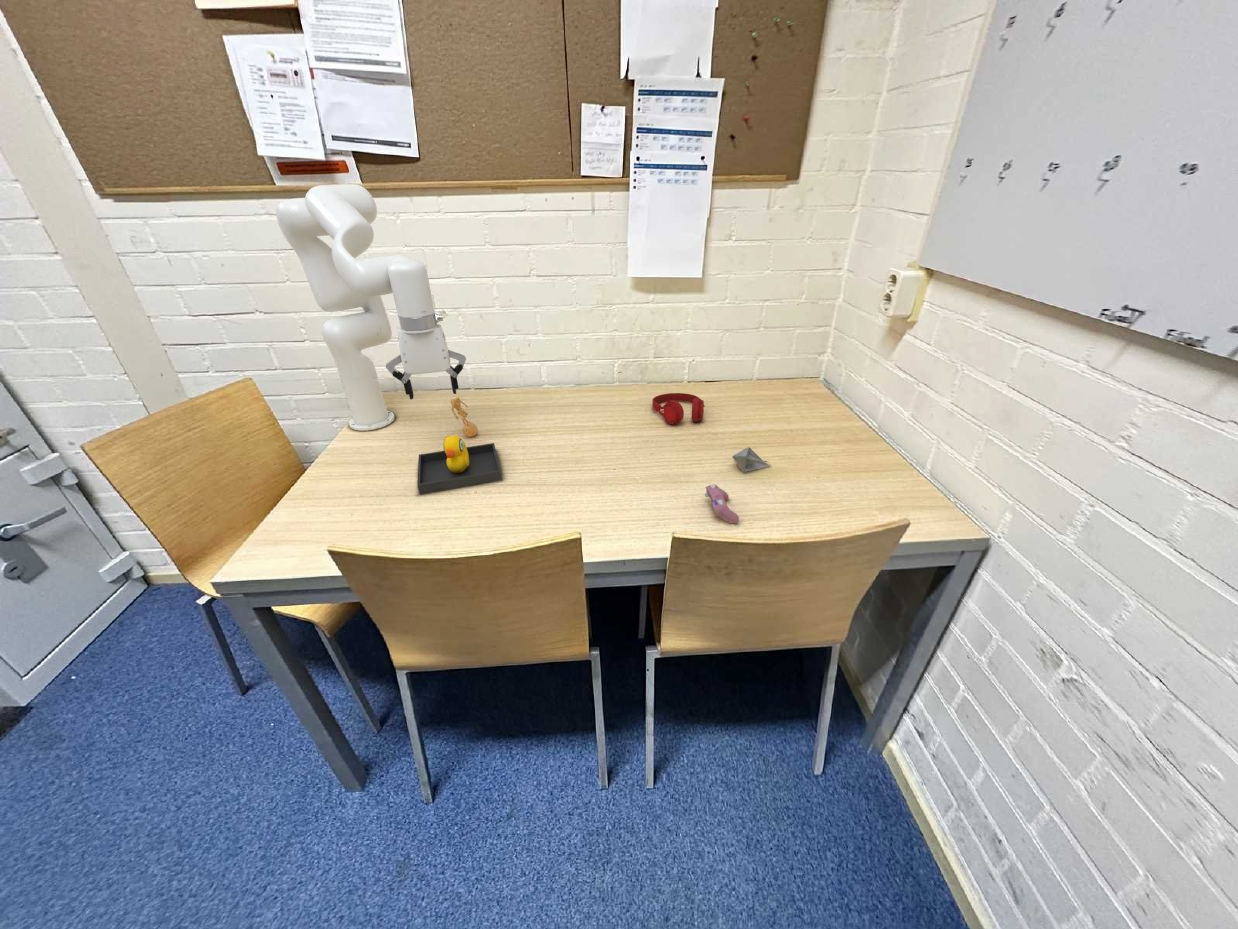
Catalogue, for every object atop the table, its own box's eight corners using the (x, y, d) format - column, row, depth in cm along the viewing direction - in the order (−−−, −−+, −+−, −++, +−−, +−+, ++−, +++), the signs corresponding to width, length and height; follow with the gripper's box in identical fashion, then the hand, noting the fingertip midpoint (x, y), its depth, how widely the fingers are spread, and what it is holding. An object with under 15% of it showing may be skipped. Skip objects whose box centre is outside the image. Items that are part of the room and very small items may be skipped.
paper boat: (749, 450, 130) (782, 453, 124) (745, 474, 130) (777, 478, 123) (725, 441, 121) (760, 443, 115) (721, 467, 121) (755, 471, 115)
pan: (420, 463, 129) (418, 454, 127) (495, 451, 134) (494, 442, 132) (419, 494, 116) (417, 485, 115) (502, 480, 121) (500, 471, 120)
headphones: (712, 423, 145) (690, 405, 163) (713, 400, 142) (690, 384, 161) (664, 428, 143) (647, 409, 161) (664, 405, 140) (646, 388, 158)
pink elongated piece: (710, 504, 114) (699, 482, 111) (728, 496, 113) (718, 474, 110) (721, 531, 106) (709, 509, 102) (741, 522, 105) (730, 499, 101)
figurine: (473, 442, 138) (466, 403, 132) (452, 442, 138) (444, 403, 132) (482, 429, 145) (475, 391, 139) (462, 429, 145) (454, 391, 139)
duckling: (466, 482, 120) (458, 446, 115) (443, 483, 119) (435, 447, 114) (474, 458, 129) (467, 424, 124) (453, 459, 129) (446, 425, 124)
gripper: (458, 314, 113) (470, 384, 122) (376, 320, 108) (395, 392, 117) (460, 323, 107) (472, 396, 116) (373, 330, 102) (393, 405, 111)
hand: (433, 394), depth 116 cm, fingers open, 9 cm apart
